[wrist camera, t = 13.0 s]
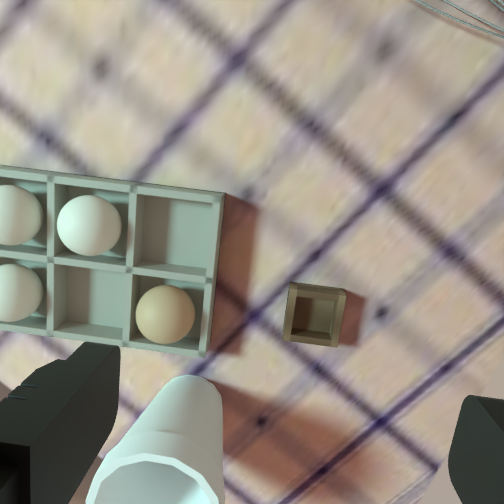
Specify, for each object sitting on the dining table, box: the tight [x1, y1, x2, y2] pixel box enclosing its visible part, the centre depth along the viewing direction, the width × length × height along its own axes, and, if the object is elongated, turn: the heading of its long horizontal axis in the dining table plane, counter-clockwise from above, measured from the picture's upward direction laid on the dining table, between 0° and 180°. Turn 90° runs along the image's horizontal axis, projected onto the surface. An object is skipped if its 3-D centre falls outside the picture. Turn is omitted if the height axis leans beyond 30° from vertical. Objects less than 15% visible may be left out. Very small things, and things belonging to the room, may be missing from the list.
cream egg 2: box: [0, 264, 43, 322], centre depth 37 cm, size 5×5×5 cm
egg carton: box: [0, 165, 225, 358], centre depth 38 cm, size 14×21×3 cm
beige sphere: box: [136, 285, 195, 344], centre depth 37 cm, size 5×5×5 cm
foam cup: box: [86, 375, 225, 504], centre depth 36 cm, size 10×9×13 cm
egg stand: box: [283, 282, 346, 347], centre depth 38 cm, size 5×5×2 cm
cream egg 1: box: [0, 185, 44, 245], centre depth 35 cm, size 5×5×5 cm
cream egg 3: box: [57, 195, 122, 256], centre depth 35 cm, size 5×5×5 cm
